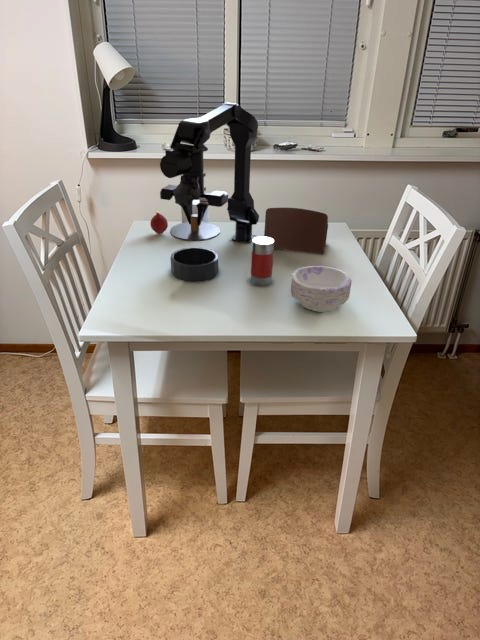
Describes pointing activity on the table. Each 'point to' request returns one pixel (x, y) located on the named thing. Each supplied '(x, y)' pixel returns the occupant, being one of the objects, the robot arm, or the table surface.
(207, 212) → the small box
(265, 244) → the cylinder
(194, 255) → the pot
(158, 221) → the onion
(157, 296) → the table surface
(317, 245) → the letter holder
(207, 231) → the lid
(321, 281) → the paper bowls
